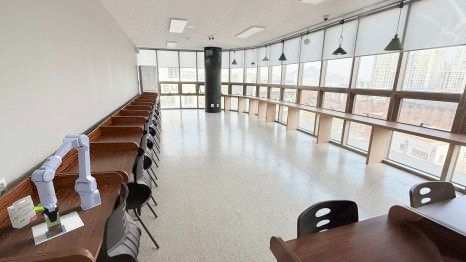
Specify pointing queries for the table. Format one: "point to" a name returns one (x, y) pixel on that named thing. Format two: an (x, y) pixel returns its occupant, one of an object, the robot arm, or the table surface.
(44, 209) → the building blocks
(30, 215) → the ink cartridge box
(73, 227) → the blueprint board
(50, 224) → the sage block
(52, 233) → the walnut block
